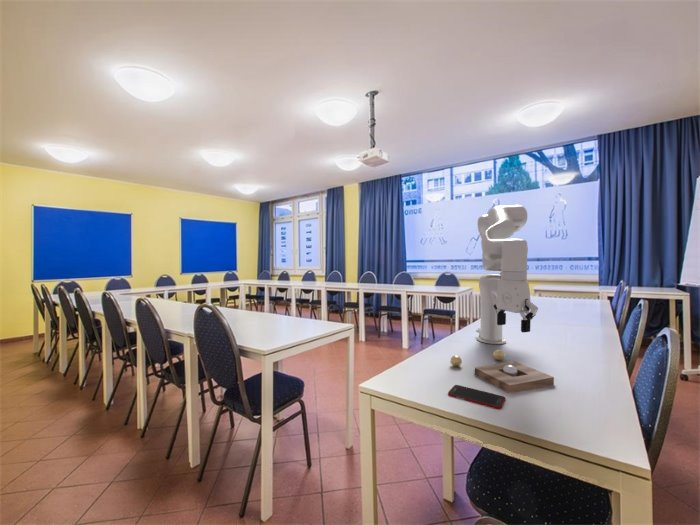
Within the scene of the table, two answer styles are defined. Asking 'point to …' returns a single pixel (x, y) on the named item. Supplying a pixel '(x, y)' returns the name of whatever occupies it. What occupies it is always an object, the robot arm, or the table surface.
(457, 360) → the brass ball
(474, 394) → the cell phone
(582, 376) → the table surface
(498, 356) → the brass ball
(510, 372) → the steel ball
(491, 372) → the pocket plate
